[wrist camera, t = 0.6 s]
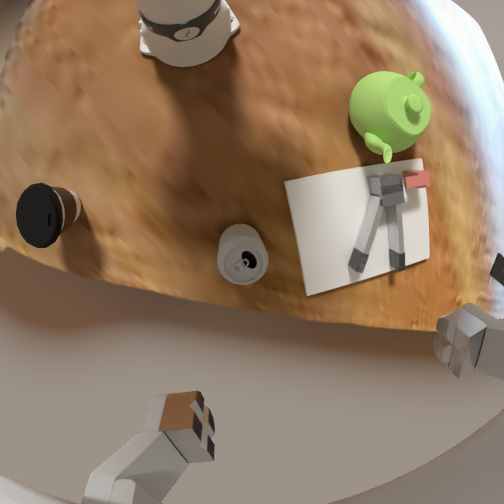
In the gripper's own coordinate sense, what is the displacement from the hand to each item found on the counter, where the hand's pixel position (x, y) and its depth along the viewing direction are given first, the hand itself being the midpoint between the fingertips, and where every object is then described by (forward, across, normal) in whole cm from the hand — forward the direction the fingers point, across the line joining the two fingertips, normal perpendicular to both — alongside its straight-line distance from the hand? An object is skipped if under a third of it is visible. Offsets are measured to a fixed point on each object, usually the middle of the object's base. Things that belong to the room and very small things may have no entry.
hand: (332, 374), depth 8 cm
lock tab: (+41, -31, 0) cm, 51 cm away
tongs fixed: (+41, -25, +8) cm, 49 cm away
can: (+43, +3, +6) cm, 43 cm away
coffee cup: (+42, +34, -10) cm, 55 cm away
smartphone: (+44, -74, +33) cm, 92 cm away
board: (+43, -22, +8) cm, 49 cm away
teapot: (+42, -28, -12) cm, 52 cm away
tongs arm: (+41, -20, +9) cm, 46 cm away
